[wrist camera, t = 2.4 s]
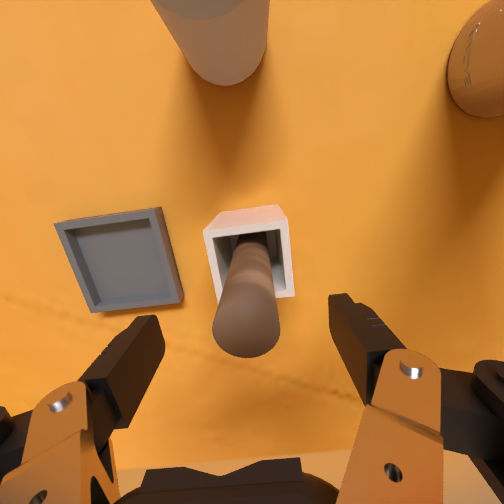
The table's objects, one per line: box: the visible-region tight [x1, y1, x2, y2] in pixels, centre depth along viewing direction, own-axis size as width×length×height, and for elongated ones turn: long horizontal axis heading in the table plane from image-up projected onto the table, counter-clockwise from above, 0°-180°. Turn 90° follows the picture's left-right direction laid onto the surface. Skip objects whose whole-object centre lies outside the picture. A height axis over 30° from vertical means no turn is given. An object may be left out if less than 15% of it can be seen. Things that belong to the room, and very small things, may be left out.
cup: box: [203, 204, 295, 305], centre depth 22 cm, size 6×6×9 cm
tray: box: [54, 207, 184, 313], centre depth 27 cm, size 11×11×2 cm
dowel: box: [212, 231, 280, 358], centre depth 18 cm, size 3×3×16 cm
